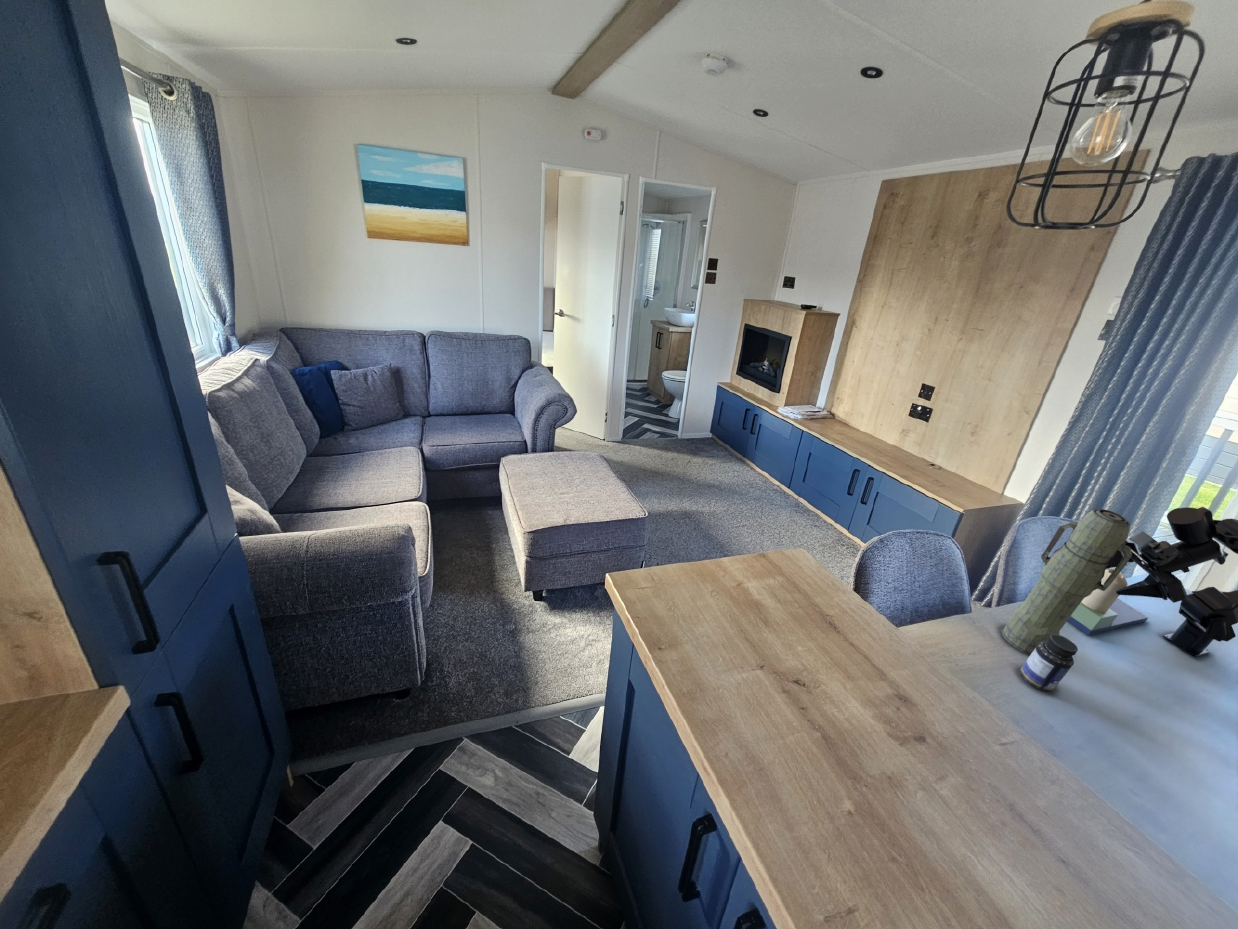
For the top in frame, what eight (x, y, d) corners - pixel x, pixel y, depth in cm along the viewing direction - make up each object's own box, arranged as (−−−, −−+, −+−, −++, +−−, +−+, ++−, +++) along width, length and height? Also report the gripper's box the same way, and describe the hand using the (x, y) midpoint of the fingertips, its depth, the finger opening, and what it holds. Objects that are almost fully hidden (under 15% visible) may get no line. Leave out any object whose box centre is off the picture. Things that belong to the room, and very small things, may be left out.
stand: (1110, 600, 139) (1123, 584, 136) (1145, 622, 132) (1158, 606, 130) (1054, 611, 131) (1066, 595, 128) (1087, 635, 124) (1101, 618, 122)
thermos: (998, 617, 125) (1078, 495, 109) (1055, 648, 118) (1151, 523, 102) (989, 634, 119) (1073, 507, 103) (1050, 667, 112) (1150, 537, 96)
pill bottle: (1046, 675, 110) (1075, 638, 105) (1058, 697, 104) (1088, 659, 99) (1014, 664, 111) (1041, 627, 106) (1024, 685, 106) (1052, 647, 101)
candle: (1104, 616, 123) (1129, 583, 118) (1076, 601, 126) (1100, 570, 122) (1108, 607, 126) (1133, 576, 121) (1081, 594, 129) (1104, 562, 125)
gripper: (1141, 506, 123) (1068, 534, 129) (1207, 552, 106) (1119, 581, 112) (1156, 540, 126) (1083, 566, 132) (1222, 590, 109) (1135, 616, 115)
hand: (1103, 580), depth 123 cm, fingers open, 9 cm apart
